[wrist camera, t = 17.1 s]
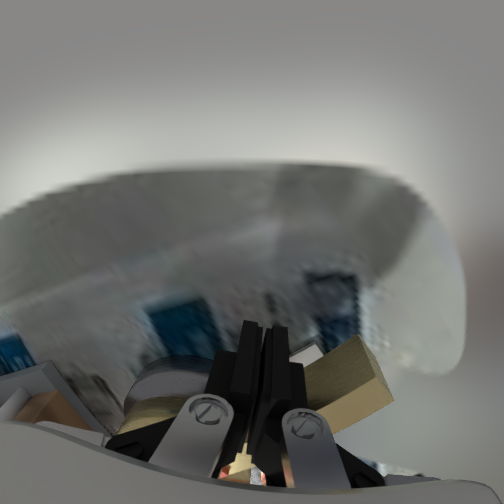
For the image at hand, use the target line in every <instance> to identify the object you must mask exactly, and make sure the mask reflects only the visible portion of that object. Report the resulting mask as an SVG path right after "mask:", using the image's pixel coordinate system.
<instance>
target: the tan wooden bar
mask: <svg viewBox="0 0 504 504" xmlns="http://www.w3.org/2000/svg"><path fill="white" fill-rule="evenodd" d="M13 421H21V422H27V423H34V424H36V423H38V422H42V421H49V422H54V423H58V424H62V425H66V426H70V427H74V428H79V429H83V430H88V431H93V430H92V429H91V428H90V426H89V425H88V424H87V423H86V422H85V421H84V420H83V419H82V417H81V416H80V415H79V414H78V413H77V412H76V411H75V409H74V408H73V407H72V406H71V405H70V403H69V402H68V401H67V400H66V398H65V397H64V396H63V395H62V393H61V392H60V391H59V390H56V391H51V392H45V393H40V394H35V395H34V396H33V397H32V398H31V400H30V401H29V402H28V403H27V404H26V405H25V407H24V408H23V409H22V410H21V411H20V412H19V414H18V415H17V416H16V417H15V418H14V420H13ZM93 432H94V431H93Z"/></svg>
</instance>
